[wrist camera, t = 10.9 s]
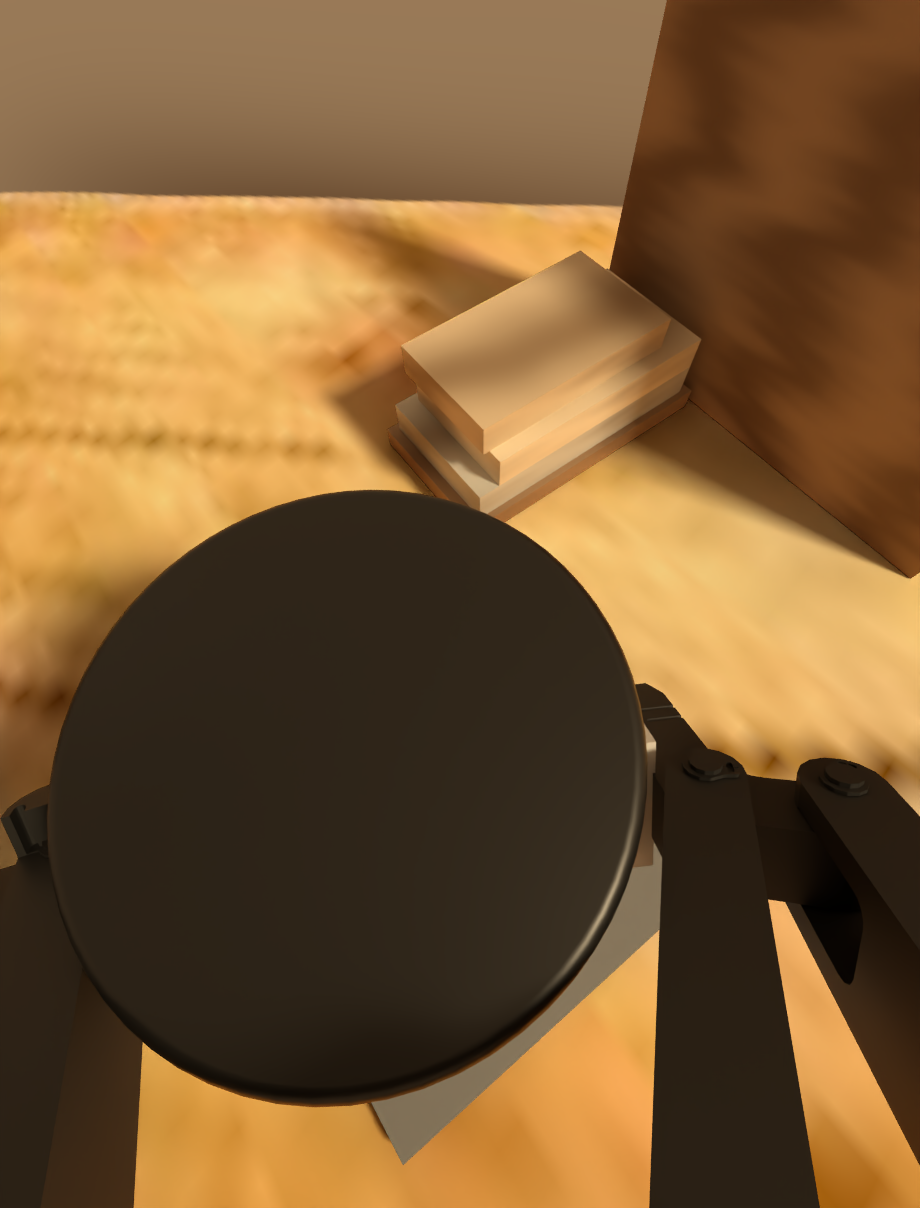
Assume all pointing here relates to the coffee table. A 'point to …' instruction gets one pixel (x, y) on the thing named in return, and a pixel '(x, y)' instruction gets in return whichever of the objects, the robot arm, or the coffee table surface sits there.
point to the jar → (347, 798)
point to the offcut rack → (720, 282)
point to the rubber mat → (439, 1104)
